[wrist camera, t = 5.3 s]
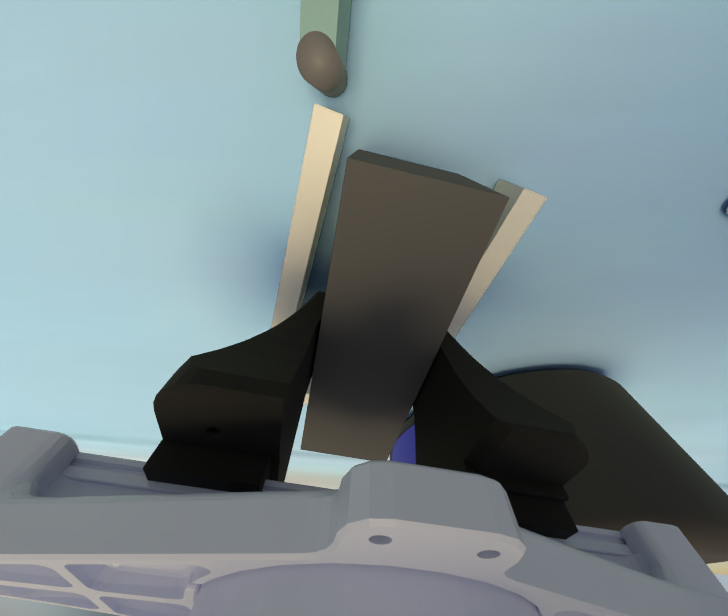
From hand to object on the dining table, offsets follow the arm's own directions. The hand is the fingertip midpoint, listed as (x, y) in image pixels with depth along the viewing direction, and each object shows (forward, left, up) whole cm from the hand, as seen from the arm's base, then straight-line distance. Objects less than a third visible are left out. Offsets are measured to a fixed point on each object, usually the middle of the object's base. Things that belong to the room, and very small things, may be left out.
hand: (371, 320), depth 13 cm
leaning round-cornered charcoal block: (-11, +7, -4) cm, 14 cm away
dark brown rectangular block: (0, 0, -2) cm, 2 cm away
